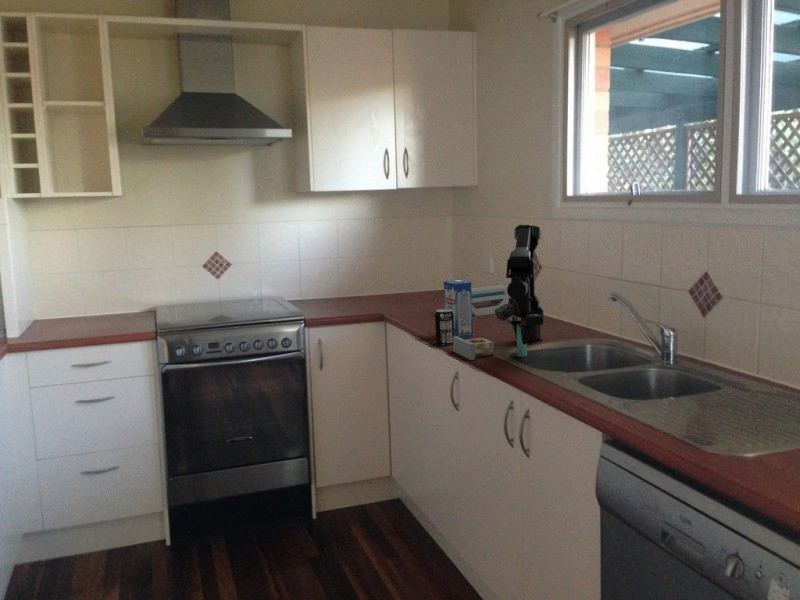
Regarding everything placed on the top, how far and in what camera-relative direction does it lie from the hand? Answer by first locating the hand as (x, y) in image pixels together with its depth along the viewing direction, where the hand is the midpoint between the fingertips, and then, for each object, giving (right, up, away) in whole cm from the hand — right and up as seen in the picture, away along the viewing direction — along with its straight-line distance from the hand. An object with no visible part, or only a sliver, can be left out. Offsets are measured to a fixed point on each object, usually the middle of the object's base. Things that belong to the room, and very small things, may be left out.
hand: (521, 343), depth 230 cm
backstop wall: (-18, -4, +5) cm, 19 cm away
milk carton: (-17, 0, +38) cm, 41 cm away
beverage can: (-23, -2, +24) cm, 33 cm away
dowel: (0, -4, +1) cm, 4 cm away
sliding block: (-13, -4, +7) cm, 15 cm away
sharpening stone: (-3, +8, +84) cm, 84 cm away
